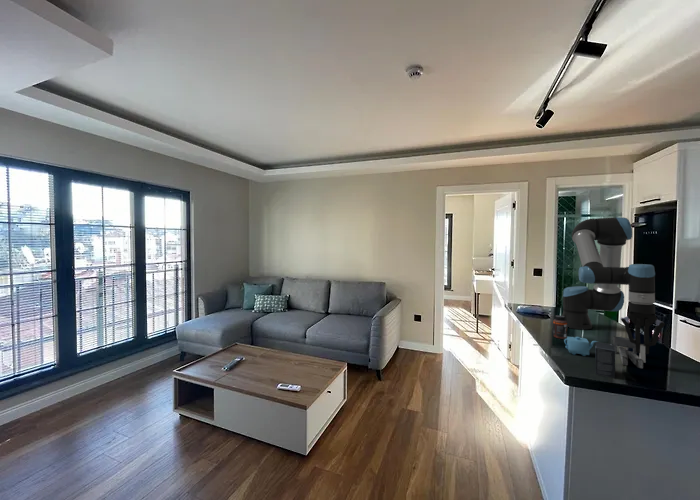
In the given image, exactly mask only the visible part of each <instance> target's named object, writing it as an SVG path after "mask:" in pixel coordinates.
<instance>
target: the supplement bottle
mask: <svg viewBox="0 0 700 500" xmlns="http://www.w3.org/2000/svg"><path fill="white" fill-rule="evenodd" d="M552 321H553V322H552V323H553V324H552V325H553V326H552V327H553V328H552V330H553V331H552V332H553V337H554V338H556V339H560V340H565V339H567V337H568V327H567V321H565V317H564V316H562V314H559V315H555V318H554V319H553V320H552Z"/></svg>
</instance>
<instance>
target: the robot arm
mask: <svg viewBox="0 0 700 500" xmlns="http://www.w3.org/2000/svg"><path fill="white" fill-rule="evenodd" d="M571 238H572V242H573V243H574V244H576V247H577V248H576V249H577V253H578V256H579V259H580V263H581V266H579V268H578V279H579V282H581V283H583V284H593V288H592V289H589V287H588V286H584V285H583V286H579V285H578V286H568V287H565V288H563V291H562V293H563V294H562V297H563V299H562V300H563V302H562V303H563V310H562V311H563V312H562V314H561V316H564V317H565V321H567V328H568V327H569V328H570V329H574V330H591V329H592V328H593V324H592V321H591V319H590V315H589V311H591V310H592V311H604V312H605V311H607V312H619V311H621V310H622V309H623V306H624V303H625V293H624V291H622V290H621V288H620V287H619V286H618V285H622V286H624V285H625V286H626V285H627V286H628V301H629V303H628V314H627V316H624V317H620V320H621V322H622V323H623V325H624V327H625V330H626V331H625V332H626V333H627V336H628V337H627V338H629V340H630V342H631V343H634V344H636V352H637V354H639V355H638V357H639V358H640V359H642V360H643V364H644V363H645V364H646V355H649V354H650V347H652V346H653V347H654V346H656V345H657V342H658V339H659V336H660V334H661V331H662V329H663V328H664V327H665V326H666V323H665V322H664V321H661V320H660V319H658V317H657V316H656V305H655V303H656V271H655V270H656V269H655V266H654V265H653V264H645V263H644V264H643V263H635V264H634V263H633V264H630V265H628V266H626V267H625V266H624V267H622V266H621V267H620V264H621V257H622V256H621V255H622V248H623V246H625V245H626V244H627V241H629V240H632V238H633V229H632V224H631V222H630V219H628V218H627V217H617V216H615V217H600V218H598V217H597V218H587V219H585V220H581V221H580V222H579V223H577V225H576V226H574V228H573V229H572V232H571ZM595 241H596V242H597V244H598V245H599V246H600V247H599V250H598V247H597V244H596V242H595ZM594 284H595V285H594ZM630 321H631V323H633V325H634V330H635V331H634V333H635V334H634V337H633V335H632V334H633V333H632V331H631V328H630V325H629V323H630ZM653 324H655V328H654V330H653V334H652V335H651V338H650V326H652V325H653ZM641 327H643V343H641ZM569 328H568V329H569ZM634 339H635V340H634Z"/></svg>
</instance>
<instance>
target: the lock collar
mask: <svg viewBox="0 0 700 500" xmlns="http://www.w3.org/2000/svg"><path fill="white" fill-rule="evenodd" d="M633 339H634V340H635V338H633ZM613 344H614V349H615V354H617V353H618V352H617V351H618V349H617V347H623V348H627V349H632V352H634V353H635V354H636V355H637V354H638V353H637V352H636V344H634V343H631V342H630V340H629V337H622V336H615V335H614V336H613ZM637 356H638V355H637Z"/></svg>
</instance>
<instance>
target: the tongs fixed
mask: <svg viewBox="0 0 700 500" xmlns="http://www.w3.org/2000/svg"><path fill="white" fill-rule="evenodd" d="M618 347H619V349H618V351H619V352H618V355H619V358H620V360H621V363H622V365H623V366H627V367H628V365H629V349H625V347H620V346H618Z"/></svg>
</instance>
